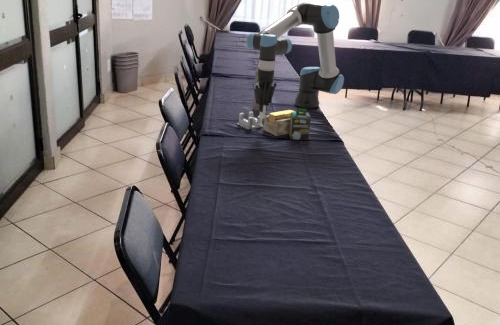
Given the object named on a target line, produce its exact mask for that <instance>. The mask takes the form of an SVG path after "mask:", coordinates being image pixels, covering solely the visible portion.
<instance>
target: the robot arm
mask: <svg viewBox="0 0 500 325" xmlns="http://www.w3.org/2000/svg"><path fill="white" fill-rule="evenodd" d="M339 20H340V11H339V9H338V7H337V6H336V5H335V4H331V3H327V2H326V3H324V2H313V1H305V2H302V3H299V4H296V5H295V6H293V7H291V8H290V9H288V11H287V12H286V14H285V15H283V16H281V17H280V18H279V19H277V20H275V21H274V22H273V23H272V24H270V25H268V26H267V27H266V28H264V29H262V30H261V31H259V32H258V33H249V34H248V36H247V38H246V46H247V47H248V49H251V50H254V51H259V58H258V65H259V66H258V65H257V66H258V67H259V68H260V69H258V81H257V83H256V84H255V83H254V84H252V87H253V90H254V91H255V99H256V103H257V104H259V110H258V112H259V115H258V116H259V117H260V118H262V120H263V119H265V116H266V112H267V111H268V106H269V105H270V104H271V103H272V100H273V97H274V92H275V89H276V87H277V86H278V84H277V83H276V82H274V77H275V68H276V56H279V55H287V54H289V53H290V52H291V51H292V49H293V43H292V40H291V39H290V38H289V37H283V35H284V34H286V33H287V32H289V31H290V30H292V29H293V28H297V27H300V26H301V25H307V26H312V29H313V32H314V33H315V34H316V36H317V37H316V38H317V47H318V55H319V62H320V64H319V65H320V66H306V67H302V68H301V70H300V75H299V83H298V92H297V94H296V97H295V99H294V105H295V106H296V107H298V108H302V109H315V107H317V106H318V107H320V100H319V94H318V92H322V93H327V94H332V95H336V94H338V93H339V92H340V91H341V90H342V89H343V86H344V82H345V77H344V75H343V74H341V73H340V69H339V68H338V67H337V62H336V51H335V50H336V49H335V41H334V39H335V38H334V31H335V30H336V28H337V27H338V25H339ZM254 91H253V92H254ZM318 107H317V108H318Z"/></svg>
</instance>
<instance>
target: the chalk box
mask: <svg viewBox="0 0 500 325" xmlns="http://www.w3.org/2000/svg"><path fill="white" fill-rule="evenodd" d="M307 109H308V108H297V109H296V111H294V112H291V116H290V128H289V133H288V135H289V140H297V141H298V140H299V141H309V139H310V132H311V131H310V130H311V122H312V118H311V115H310V112H307V111H308V110H307Z"/></svg>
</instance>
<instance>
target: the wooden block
mask: <svg viewBox="0 0 500 325" xmlns="http://www.w3.org/2000/svg"><path fill="white" fill-rule="evenodd" d="M291 112H295V110H291V109H287V110H281V111H280V110H279V111H275V112H270V113H268V115H269V122H270V123H272V124H274V123H275V120H279V119H284V118H290V116H291Z"/></svg>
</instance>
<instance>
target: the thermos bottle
mask: <svg viewBox="0 0 500 325" xmlns="http://www.w3.org/2000/svg"><path fill="white" fill-rule="evenodd" d="M258 66H259V64H258V65H257V66H256V69H255V76H254V84H256V83H257V81H258V69H260V68H259V67H258ZM253 92H254V93H253V102H252V104H253V106H252V109H253V110H255V111H259V104H257V103H256V99H255V91H253Z"/></svg>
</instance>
